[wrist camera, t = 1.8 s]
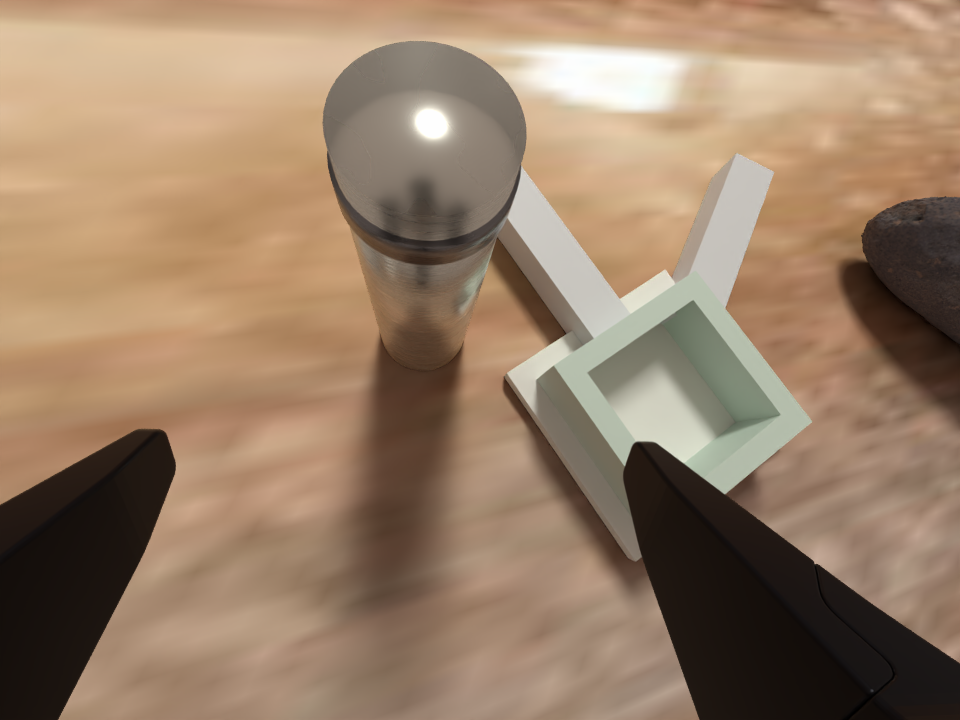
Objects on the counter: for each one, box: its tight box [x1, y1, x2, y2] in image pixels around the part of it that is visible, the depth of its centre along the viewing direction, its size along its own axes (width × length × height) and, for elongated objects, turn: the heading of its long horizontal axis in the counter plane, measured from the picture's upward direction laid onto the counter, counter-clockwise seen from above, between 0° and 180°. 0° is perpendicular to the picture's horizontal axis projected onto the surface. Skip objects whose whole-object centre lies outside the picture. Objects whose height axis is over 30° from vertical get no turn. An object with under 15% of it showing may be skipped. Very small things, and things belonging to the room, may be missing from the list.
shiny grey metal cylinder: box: [323, 41, 526, 371], centre depth 16 cm, size 4×4×14 cm
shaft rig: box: [497, 153, 812, 562], centre depth 23 cm, size 19×18×4 cm
